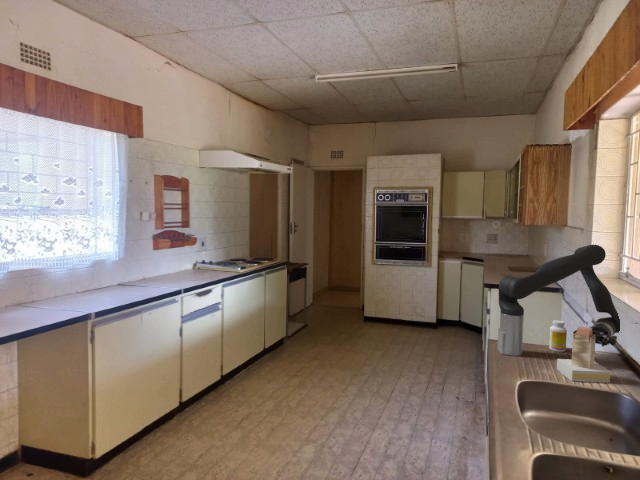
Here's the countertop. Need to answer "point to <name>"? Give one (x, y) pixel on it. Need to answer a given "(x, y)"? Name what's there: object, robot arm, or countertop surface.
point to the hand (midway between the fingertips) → (589, 340)
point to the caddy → (583, 351)
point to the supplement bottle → (557, 336)
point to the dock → (583, 372)
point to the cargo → (584, 332)
